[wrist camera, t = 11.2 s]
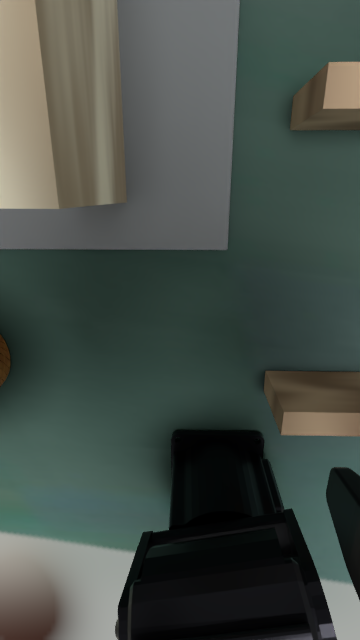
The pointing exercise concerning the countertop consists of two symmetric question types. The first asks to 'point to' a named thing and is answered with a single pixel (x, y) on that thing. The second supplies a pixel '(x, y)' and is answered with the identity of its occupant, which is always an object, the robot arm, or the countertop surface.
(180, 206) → the rubber mat
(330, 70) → the light wood rack
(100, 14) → the cream flat block
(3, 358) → the disposable coffee cup
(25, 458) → the countertop surface
